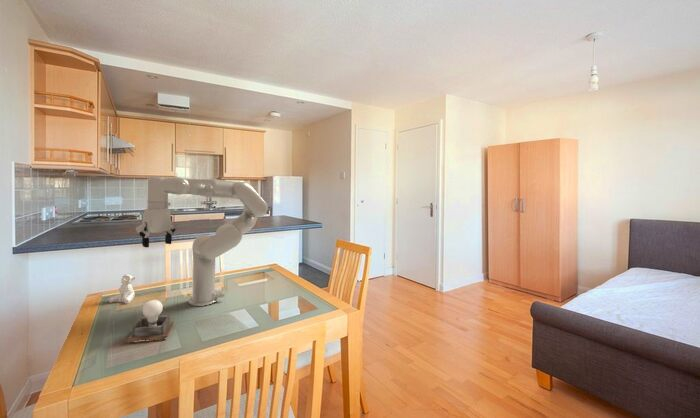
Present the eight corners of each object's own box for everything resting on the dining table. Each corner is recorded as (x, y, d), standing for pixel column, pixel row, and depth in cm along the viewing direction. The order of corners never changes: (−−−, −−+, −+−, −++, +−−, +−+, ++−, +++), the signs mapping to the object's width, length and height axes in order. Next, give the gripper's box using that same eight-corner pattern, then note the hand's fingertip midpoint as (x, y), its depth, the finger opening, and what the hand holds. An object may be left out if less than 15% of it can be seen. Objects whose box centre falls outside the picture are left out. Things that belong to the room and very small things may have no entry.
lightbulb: (152, 334, 111) (153, 304, 110) (137, 331, 112) (138, 302, 112) (166, 326, 117) (167, 298, 117) (152, 324, 119) (152, 296, 118)
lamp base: (173, 325, 122) (173, 314, 122) (166, 339, 111) (166, 327, 111) (138, 327, 118) (138, 316, 118) (126, 343, 107) (126, 330, 107)
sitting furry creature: (107, 302, 140) (107, 276, 139) (122, 296, 149) (122, 271, 148) (127, 304, 140) (127, 278, 139) (141, 297, 148) (141, 272, 147)
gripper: (171, 204, 142) (170, 241, 143) (130, 205, 127) (130, 247, 128) (182, 205, 139) (181, 243, 140) (142, 207, 123) (141, 249, 125)
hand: (157, 245), depth 134 cm, fingers open, 9 cm apart
